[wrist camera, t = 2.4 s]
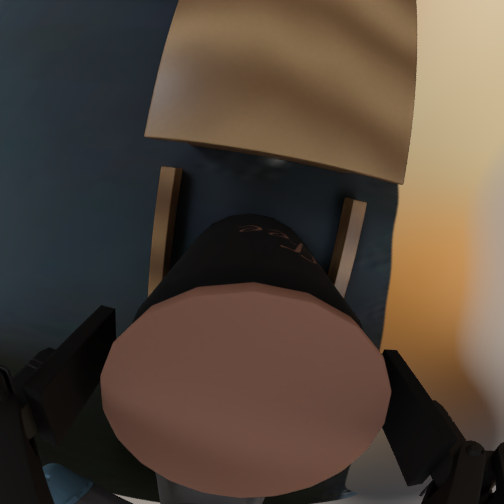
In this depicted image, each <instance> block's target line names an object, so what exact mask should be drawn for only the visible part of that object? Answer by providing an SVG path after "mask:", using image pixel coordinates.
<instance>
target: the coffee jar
mask: <svg viewBox="0 0 504 504" xmlns="http://www.w3.org/2000/svg"><path fill="white" fill-rule="evenodd" d="M100 380H101V393H102V404H103V410H104V413H105V415H106V417H107V419H108V421H109V423H110V425H111V427H112V429H113V431H114V433H115V435H116V436H117V438H118V439H119V440H120V442H121V443H122V444H123V445H124V446H125V447H126V448H127V449H128V450H129V451H130V452H131V453H132V454H133V455H134V456H135V457H136V458H137V459H138V460H139V461H140V462H141V463H142V464H144V465H145V466H147V467H149V468H150V469H152V470H153V471H155V472H156V473H158V474H160V475H161V476H163V477H165V478H166V479H168V480H170V481H172V482H175V483H177V484H180V485H183V486H186V487H188V488H191V489H194V490H197V491H200V492H203V493H209V494H215V495H222V496H229V497H237V498H247V497H267V496H277V495H281V494H286V493H290V492H294V491H298V490H301V489H305V488H309V487H311V486H313V485H315V484H318V483H320V482H322V481H324V480H326V479H328V478H330V477H332V476H334V475H336V474H338V473H339V472H341V471H342V470H344V469H345V468H346V467H347V466H349V465H350V464H351V463H352V462H353V461H355V460H356V459H357V458H358V457H359V456H360V455H361V454H363V453H364V452H365V451H366V450H367V449H368V447H369V446H370V444H371V443H372V442H373V440H374V439H375V437H376V435H377V434H378V432H379V431H380V429H381V428H382V426H383V425H384V423H385V419H386V414H387V410H388V405H389V401H390V396H391V387H390V382H389V378H388V373H387V369H386V365H385V361H384V357H383V355H382V354H381V353H380V351H379V350H378V349H377V348H376V346H375V345H374V344H373V343H372V341H371V340H370V339H369V338H368V337H367V335H366V334H365V333H364V332H363V330H362V327H361V323H360V321H359V319H358V318H357V316H356V315H355V314H354V312H353V311H352V309H351V308H350V306H349V305H348V304H347V302H346V301H345V299H344V298H343V297H342V295H341V294H340V293H339V291H338V290H337V288H336V287H335V286H334V284H333V283H332V281H331V280H330V279H329V277H328V276H327V275H326V273H325V272H324V271H323V269H322V268H321V266H320V265H319V264H318V262H317V261H316V260H315V258H314V257H313V256H312V254H311V253H310V252H309V250H308V249H307V248H306V246H305V245H304V244H303V243H302V241H301V240H300V239H299V238H298V237H297V236H296V234H295V233H294V232H293V231H292V230H291V229H290V228H288V227H287V226H285V225H283V224H282V223H280V222H278V221H277V220H275V219H273V218H269V217H265V216H260V215H256V214H244V215H234V216H230V217H227V218H225V219H223V220H221V221H218V222H216V223H214V224H212V225H211V226H210V227H209V228H208V229H206V230H205V231H204V232H203V233H202V234H201V235H200V236H199V237H198V238H197V239H196V240H195V241H194V242H193V244H192V245H191V246H190V247H189V248H188V249H187V251H186V252H185V253H184V254H183V255H182V257H181V258H180V259H179V260H178V261H177V262H176V264H175V265H174V266H173V267H172V268H171V270H170V271H169V272H168V273H167V275H166V276H165V277H164V278H163V279H162V281H161V282H160V283H159V284H158V286H157V287H156V288H155V289H154V290H153V292H152V293H151V294H150V295H149V297H148V298H147V299H146V300H145V302H144V303H143V304H142V305H141V307H140V308H139V309H138V311H137V314H136V316H135V318H134V320H133V322H132V325H131V326H130V327H129V328H128V329H126V330H125V331H124V332H123V333H122V334H121V335H120V336H119V337H118V338H117V339H116V340H115V341H114V342H113V344H112V347H111V349H110V352H109V354H108V357H107V359H106V362H105V365H104V367H103V370H102V373H101V376H100Z"/></svg>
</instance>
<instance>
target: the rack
mask: <svg viewBox="0 0 504 504" xmlns="http://www.w3.org/2000/svg"><path fill="white" fill-rule="evenodd" d="M416 8H417V7H416V0H179V2H178V5H177V8H176V11H175V14H174V17H173V20H172V23H171V26H170V30H169V33H168V37H167V40H166V44H165V47H164V51H163V54H162V58H161V62H160V66H159V70H158V74H157V78H156V82H155V87H154V91H153V95H152V100H151V105H150V110H149V114H148V120H147V125H146V130H145V137H147V138H150V139H156V140H167V141H176V142H185V143H188V144H190V145H192V146H197V147H205V148H213V149H220V150H227V151H233V152H240V153H246V154H252V155H258V156H263V157H269V158H275V159H280V160H285V161H290V162H295V163H300V164H305V165H310V166H314V167H319V168H324V169H328V170H332V171H337V172H341V173H355V174H359V175H363V176H367V177H371V178H375V179H378V180H382V181H386V182H389V183H393V184H401V185H402V184H403V183H404V177H405V171H406V165H407V158H408V152H409V145H410V137H411V129H412V120H413V110H414V99H415V85H416V65H417V9H416ZM182 170H183V169H182V168H174V167H165V166H162V167H161V172H160V179H159V186H158V193H157V201H156V209H155V217H154V226H153V236H152V247H151V258H150V271H149V286H148V297H149V295H150V294H151V293H152V292H153V290H154V289H155V288H156V287H157V286H158V284H159V283H160V282H161V281H162V279H163V278H164V277H165V276H166V275H167V273H168V272H169V271H170V263H171V254H172V244H173V236H174V227H175V219H176V212H177V204H178V197H179V190H180V183H181V177H182ZM366 205H367V203H366V202H363V201H359V200H355V199H350V198H346V197H345V199H344V204H343V209H342V213H341V218H340V223H339V228H338V232H337V237H336V241H335V246H334V250H333V254H332V259H331V263H330V267H329V271H328V275H327V276H328V277H329V279H330V280H331V281H332V283H333V284H334V286H335V287H336V288H337V290H338V291H339V293H340V294H341V295H342V297H343V298H344V297H345V293H346V289H347V286H348V282H349V278H350V274H351V271H352V267H353V263H354V259H355V255H356V250H357V246H358V242H359V238H360V233H361V229H362V224H363V220H364V215H365V210H366Z"/></svg>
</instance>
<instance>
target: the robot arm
mask: <svg viewBox="0 0 504 504" xmlns="http://www.w3.org/2000/svg"><path fill="white" fill-rule="evenodd" d="M115 340H116V322H115V309H114V308H110V307H106V306H102V305H101V306H100V307H99V308H98V309H97V310H96V311H95V312H94V313H93V314H92V315H91V316H90V317H89V318H88V319H87V320H86V321H84V322H83V323H82V324H81V325H80V326H79V327H78V328H77V329H76V330H75V331H74V332H73V333H72V334H71V335H70V336H69V337H68V338H67V339H66V340H65V341H64V342H63V343H62V344H61V345H60V346H59V347H58V348H57V349H56V350H55V349H52V348H50V347H49V348H47V349H44V350H42V351H40V352H39V353H38V354H37V355H36V356H35V357H34V358H33V359H32V360H30V361H29V362H28V363H27V366H26V365H25V366H24V367H23V368H22V369H21V370H20V371H19V372H18V373H17V374H16V375H15V376H14V378H13V379H12V378H11V374H10V371H9V370H8V369H7V368H6V367H5V366H3V365H0V504H133V503H131V502H128V501H126V500H124V499H122V498H120V497H118V496H116V495H114V494H113V493H111V492H109V491H107V490H105V489H103V488H101V487H99V486H98V485H96V484H94V482H93V481H92V480H91V479H85V478H83V477H82V476H80V475H78V474H76V473H74V472H73V471H71V470H69V469H68V468H66V467H64V466H62V465H60V464H55V463H53V464H47V465H45V466H44V467H43V468H42V464H41V461H40V457H39V454H38V450H37V446H36V442H35V439H34V437H33V435H34V434H35V433H36V431H37V430H38V432H39V434H40V436H41V439H42V440H44V441H46V442H49V443H51V444H53V445H55V446H57V447H58V446H59V445H60V443H61V442H62V440H63V438H64V437H65V435H66V433H67V432H68V430H69V429H70V427H71V425H72V424H73V422H74V421H75V419H76V417H77V416H78V414H79V413H80V411H81V410H82V408H83V406H84V405H85V403H86V402H87V400H88V399H89V397H90V396H91V394H92V393H93V391H94V390H95V388H96V387H97V385H98V384H99V382H100V376H101V373H102V370H103V367H104V365H105V362H106V359H107V357H108V354H109V352H110V349H111V347H112V344H113V342H114V341H115ZM382 355H383V357H384V361H385V365H386V369H387V373H388V378H389V382H390V387H391V396H390V401H389V405H388V410H387V414H386V419H385V423H384V425H383V426H382V428H383V430H384V432H385V435H386V437H387V439H388V441H389V444H390V445H391V448H392V451H393V453H394V455H395V457H396V460H397V462H398V465H399V467H400V469H401V472H402V474H403V476H404V479H405V481H406V483H407V486H413V485H417V484H422V483H423V482H424V481H425V480H426V479H427V478H428V476H429V475H431V477H432V479H433V480H432V481H431V483H430V484H429V485H428V486H427V487H426V488H425V489H424V490H423V491H422V492H421V494H420V495H419V496H422V495H423V494H424V493H425V492H426V493H425V496H424V498H423V501H422V503H421V504H504V442H503V443H501V444H500V445H499V446H498V447H497V449H496V450H495V451H485V450H484V448H483V447H482V446H481V445H480V444H479V443H477V442H475V441H466V439H465V438H464V436H463V435H462V433H461V432H460V431H459V429H458V428H457V426H456V425H455V423H454V422H452V419H451V417H450V416H448V413H447V411H446V410H445V409H444V407H443V406H442V405H440V404H439V403H438V402H437V401H434V400H433V401H432V399H431V398H430V396H429V395H428V393H427V392H426V391H425V389H424V388H423V386H422V385H421V384H420V382H419V381H418V379H417V378H416V377H415V375H414V373H413V372H412V371H411V369H410V368H409V367H408V365H407V364H406V362H405V361H404V360H403V358H402V357H401V355H400V354H399V353H398V351H397V350H384V351H383V354H382ZM156 477H157V484H158V491H159V497H160V503H161V504H262V503H263V500H264V498H265V497H247V498H237V497H229V496H222V495H215V494H209V493H203V492H200V491H197V490H194V489H191V488H188V487H186V486H183V485H180V484H177V483H175V482H172V481H170V480H168V479H166V478H165V477H163V476H161V475H160V474H158V473H156ZM495 485H496V491H495V492H494V493H492V488H493V487H494V486H495Z"/></svg>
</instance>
